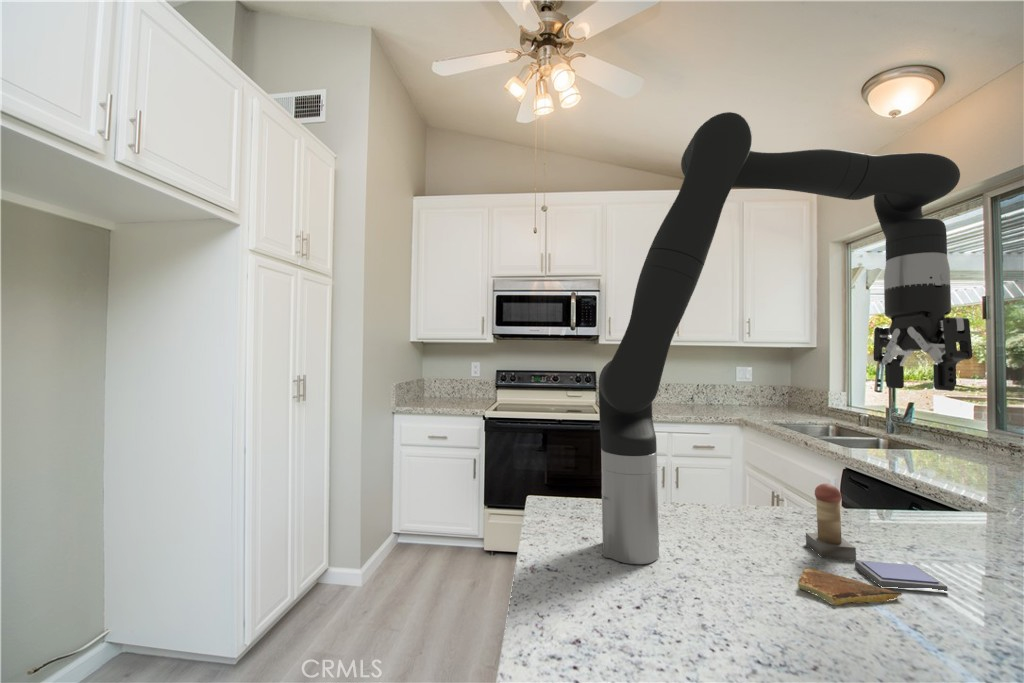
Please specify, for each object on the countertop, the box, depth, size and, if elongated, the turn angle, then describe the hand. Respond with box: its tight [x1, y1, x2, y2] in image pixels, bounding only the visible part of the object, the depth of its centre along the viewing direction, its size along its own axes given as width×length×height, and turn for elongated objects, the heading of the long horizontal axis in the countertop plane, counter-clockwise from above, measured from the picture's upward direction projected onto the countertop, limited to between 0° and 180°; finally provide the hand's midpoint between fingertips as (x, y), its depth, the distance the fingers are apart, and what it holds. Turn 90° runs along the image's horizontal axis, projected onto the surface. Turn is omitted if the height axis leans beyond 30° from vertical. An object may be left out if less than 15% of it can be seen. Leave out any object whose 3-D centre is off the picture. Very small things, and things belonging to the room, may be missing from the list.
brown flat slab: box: [797, 567, 903, 606], centre depth 57 cm, size 11×8×2 cm
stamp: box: [805, 483, 857, 561], centre depth 70 cm, size 5×5×11 cm
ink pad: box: [854, 559, 949, 591], centre depth 61 cm, size 8×6×1 cm
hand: (918, 389), depth 64 cm, fingers open, 8 cm apart
